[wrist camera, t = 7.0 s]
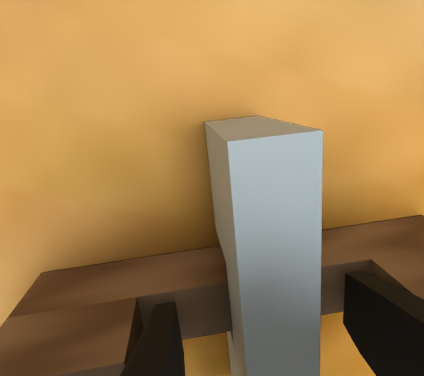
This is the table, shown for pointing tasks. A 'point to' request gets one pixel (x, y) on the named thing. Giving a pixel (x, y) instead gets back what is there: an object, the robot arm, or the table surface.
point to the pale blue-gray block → (269, 241)
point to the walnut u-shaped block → (177, 298)
